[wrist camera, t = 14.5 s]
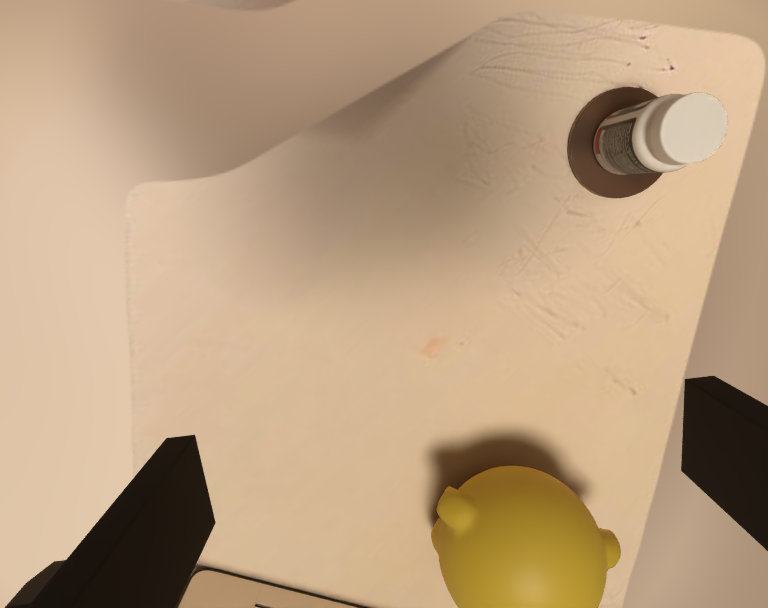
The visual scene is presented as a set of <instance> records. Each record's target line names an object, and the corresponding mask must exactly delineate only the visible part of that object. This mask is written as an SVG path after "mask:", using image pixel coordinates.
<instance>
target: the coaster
mask: <svg viewBox="0 0 768 608" xmlns="http://www.w3.org/2000/svg"><path fill="white" fill-rule="evenodd" d="M656 98H658V97H657V96H656V95H654V94H652V93H651V92H649V91H646V90H644V89H640V88H634V87H622V88H617V89H613V90H610V91H608V92H605V93H603V94H601V95H599V96H598V97H596V98H595V99H593V100H592V101H591V102H590V103H588V104H587V105H586V106H585V108H584V109H583V110H582V111H581V112H580V114H579V115H578V117H577V118H576V120H575V122H574V124H573V127H572V129H571V132H570V136H569V141H568V158H569V163H570V166H571V169H572V171H573V173H574V175H575V177H576V178H577V180H578V181H579V182H580V184H581V185H582V186H583V187H585V188H586V189H587V190H589V191H590V192H592V193H594V194H596V195H599V196H602V197H607V198H624V197H629V196H632V195H635V194H638V193H640V192H642V191H644V190H645V189H647V188H648V187H650V186H651V185H652V184H653V183H654V182H655V181H656V180H657V179H658V178H659V177H660V176H661V175H662V174H663V173H644V174H629V175H618V174H613V173H610V172H608V171H607V170H605V169H604V168H603V167H602V166H601V165H600V164H599V162H598V161H597V159H596V156H595V153H594V138H595V134H596V132H597V129H598V128H599V126H600V124H601V123H602V122H603V121H604V120H605V119H606V118H607V117H608V116H609V115H611V114H612V113H614V112H616V111H618V110H621V109H624V108H628V107H631V106H634V105H637V104H640V103H643V102H646V101H649V100H652V99H656Z"/></svg>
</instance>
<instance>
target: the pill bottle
mask: <svg viewBox="0 0 768 608" xmlns="http://www.w3.org/2000/svg"><path fill="white" fill-rule="evenodd" d="M727 126H728V119H727V113H726V110H725V108H724V106H723V105H722V103H721V102H720V101H719V100H718V99H717V98H715V97H714V96H712V95H710V94H707V93H691V94H686V95H682V94H670V95H665V96H661V97H658V98H656V99H652V100H649V101H646V102H643V103H640V104H637V105H634V106H631V107H628V108H624V109H621V110H618V111H616V112H614V113H612V114H611V115H609V116H608V117H607V118H606V119H605V120H604V121H603V122H602V123H601V124H600V126H599V128H598V129H597V132H596V134H595V138H594V153H595V156H596V159H597V161H598V162H599V164H600V165H601V166H602V167H603V168H604V169H605V170H607V171H608V172H610V173H613V174H618V175H629V174H644V173H664V172H672V171H676V170H679V169H681V168H683V167H685V166H687V165H689V164H694V163H698V162H701V161H703V160H705V159H707V158H708V157H710V156H711V155H713V154H714V153H715V152H716V151H717V150H718V148H719V147H720V146H721V144H722V142H723V140H724V138H725V136H726V132H727Z"/></svg>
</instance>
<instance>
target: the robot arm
mask: <svg viewBox="0 0 768 608" xmlns="http://www.w3.org/2000/svg"><path fill="white" fill-rule="evenodd" d="M683 417H684V418H683V441H682V466H681V471H682V472H683V473H684V474H685V475H687V476H688V477H689V478H690V479H691V480H692V481H693V482H694V483H695V484H696V485H697V486H698V487H700V488H701V489H702V490H703V491H704V492H705V493H706V494H707V495H708V496H709V497H710V498H711V499H712V500H713V501H714V502H716V503H717V504H718V505H719V506H720V507H721V508H722V509H723V510H724V511H725V512H726V513H728V515H730V516H731V517H732V518H733V519H734V520H735V521H736V522H737V523H738V524H739V525H740V526H742V528H744V529H745V530H746V531H747V532H748V533H749V534H750V535H751V536H752V537H753V538H754V539H755V540H756V541H758V542H759V543H760V544H761V545H762V546H763V547H764V548H765V549H766V550H767V551H768V406H767V405H765V404H763V403H761V402H760V401H758V400H756V399H754V398H752V397H751V396H749V395H747V394H745V393H743V392H742V391H740V390H738V389H736V388H735V387H733V386H731V385H729V384H728V383H726V382H724V381H722V380H720V379H719V378H717V377H715V376H708V377H699V378H691V379H685V391H684V416H683ZM214 525H215V519H214V515H213V510H212V506H211V502H210V497H209V493H208V489H207V485H206V480H205V476H204V472H203V467H202V463H201V459H200V455H199V450H198V446H197V442H196V437H195V435H190V436H181V437H173V438H166V440H165V441H164V442H163V443H162V444H161V446H160V447H159V448H158V449H157V450H156V452H155V453H154V454H153V455H152V457H151V458H150V459H149V460H148V461H147V463H146V464H145V465H144V466H143V467H142V469H141V470H140V471H139V472H138V474H137V475H136V476H135V477H134V478H133V480H132V481H131V482H130V483H129V484H128V486H127V487H126V488H125V489H124V491H123V492H122V493H121V494H120V495H119V497H118V498H117V499H116V500H115V502H114V503H113V504H112V505H111V506H110V508H109V509H108V510H107V511H106V513H105V514H104V515H103V516H102V517H101V518H100V520H99V521H98V522H97V523H96V524H95V526H94V527H93V528H92V529H91V531H90V532H89V533H88V534H87V536H86V537H85V538H84V539H83V540H82V541H81V543H80V544H79V545H78V546H77V548H76V549H75V550H74V551H73V552H72V554H71V555H70V556H69V557H68V559H67V560H64V561H56V562H53V563H52V564H50V565H49V566H48V567H46V568H45V569H44V570H43V571H41V572H40V573H39V574H37V575H36V576H35V577H34V578H32V579H31V580H30V581H28V582H27V583H26V584H25V585H24V586H23V588H22V589H21V590H20V591H19V592H18V593H17V594H16V596H15V597H14V598H13V599H12V600H11V601H10V602H9V603H8V605H7V606H6V607H5V608H175V607H176V605H177V603H178V601H179V599H180V597H181V595H182V593H183V590H184V588H185V586H186V584H187V582H188V580H189V578H190V576H191V574H192V571H193V569H194V567H195V565H196V563H197V561H198V559H199V557H200V555H201V552H202V550H203V548H204V546H205V544H206V542H207V540H208V538H209V535H210V533H211V531H212V529H213V527H214Z"/></svg>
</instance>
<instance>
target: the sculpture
mask: <svg viewBox="0 0 768 608" xmlns="http://www.w3.org/2000/svg"><path fill="white" fill-rule="evenodd" d="M436 511H437V513H438V515H439V516H440V517H439V518H438V519H437V521H436V523H435V525H434V528H433V529H432V532H431V538H432V542H433V546H434V548H435V550H436V551H437V553H438V555H439V562H440V568H441V571H442V575H443V578H444V581H445V583H446V586H447V588H448V590H449V592H450V594H451V596H452V598H453V600H454V602H455V603H456V605H457V606H458V607H459V608H598V606H599V604H600V602H601V599H602V596H603V592H604V588H605V583H606V573H607V571H608V569H610V568H612V567H614V566H615V565H616V564H617V562H618V561H619V559H620V553H621V550H620V545H619V542H618V540H617V538H616V536H615V535H614V533H613V532H611V531H610V530H603V529H601V528H599V529H598V526H597V524H596V522H595V520H594V518H593V516H592V515H591V513H590V511H589V510H588V509H587V507H586V506H585V504H584V503H583V502H582V501H581V499H580V498H579V497H578V496H577V495H576V494H575V493H574V492H573V491H572V490H571V489H570V488H569V487H567V486H566V485H565V484H563V483H562V482H561V481H559V480H558V479H556V478H554V477H552V476H551V475H549V474H546V473H544V472H542V471H539V470H536V469H533V468H529V467H523V466H501V467H495V468H492V469H488V470H485V471H483V472H481V473H479V474H477V475H475V476H474V477H472V478H470V479H469V480H468V481H466V482H465V483H464V484H463V485H462V486H461V487H460V488H459V489H458V490H456V489H455V488H452V487H450V486H449V487H448V488H446V489H445V491H444V493H443V495H442V497H441V498H440V500H439V502H438V506H437V510H436Z"/></svg>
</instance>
